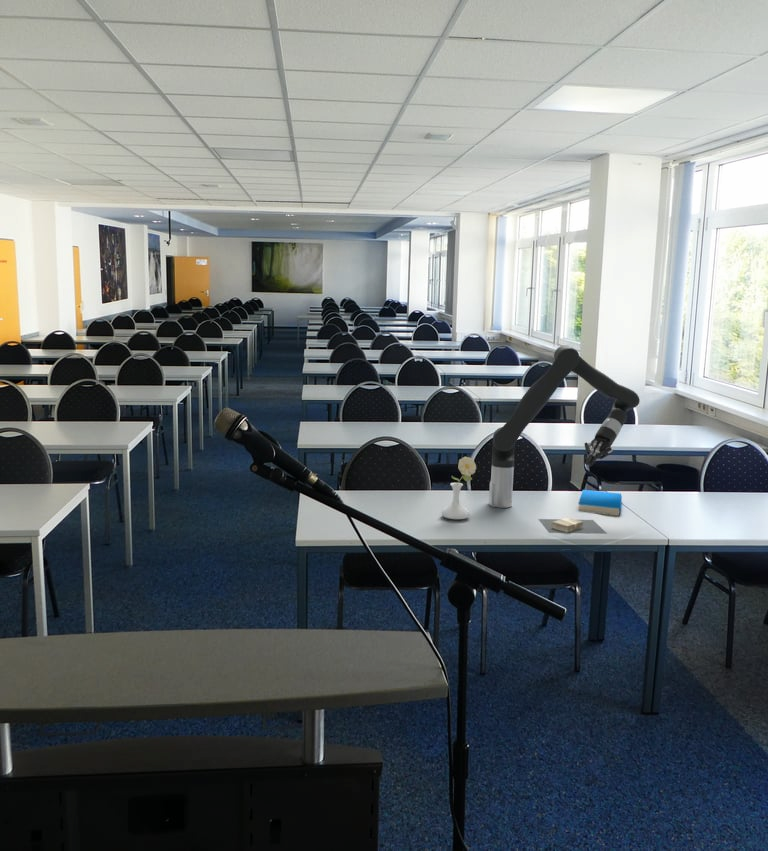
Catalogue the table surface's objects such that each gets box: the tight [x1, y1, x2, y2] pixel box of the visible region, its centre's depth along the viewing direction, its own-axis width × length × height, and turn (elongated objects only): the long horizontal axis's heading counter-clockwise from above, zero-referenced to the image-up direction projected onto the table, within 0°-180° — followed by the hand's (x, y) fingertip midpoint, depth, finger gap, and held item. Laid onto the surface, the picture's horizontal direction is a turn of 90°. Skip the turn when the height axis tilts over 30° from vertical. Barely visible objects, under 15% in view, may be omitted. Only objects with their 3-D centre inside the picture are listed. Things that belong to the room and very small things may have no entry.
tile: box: [552, 517, 583, 532], centre depth 301 cm, size 2×7×10 cm
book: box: [578, 489, 623, 516], centre depth 336 cm, size 17×4×25 cm
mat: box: [538, 518, 608, 535], centre depth 304 cm, size 22×18×1 cm
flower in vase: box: [440, 456, 477, 520], centre depth 311 cm, size 13×11×25 cm
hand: (588, 464), depth 311 cm, fingers closed
